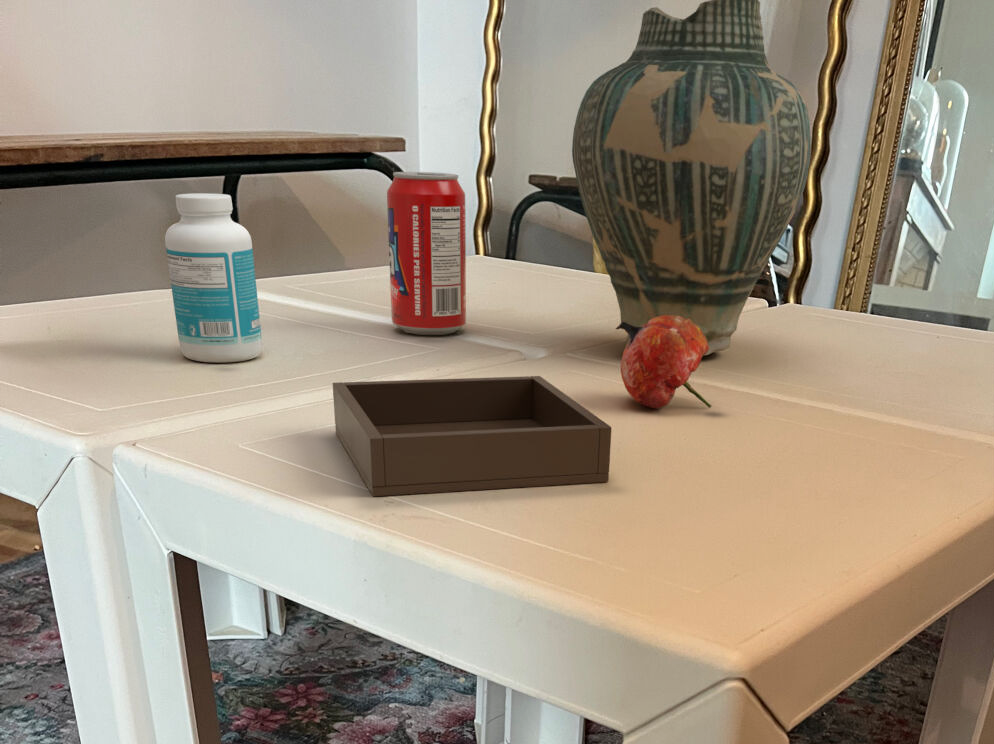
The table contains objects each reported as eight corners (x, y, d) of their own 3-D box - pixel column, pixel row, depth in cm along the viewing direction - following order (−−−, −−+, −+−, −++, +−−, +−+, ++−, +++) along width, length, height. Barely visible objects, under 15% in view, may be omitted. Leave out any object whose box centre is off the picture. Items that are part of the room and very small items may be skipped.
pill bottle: (237, 345, 109) (220, 190, 102) (278, 358, 104) (264, 197, 98) (165, 354, 104) (143, 192, 97) (205, 368, 100) (185, 199, 93)
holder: (372, 496, 69) (369, 438, 68) (335, 432, 82) (332, 382, 80) (608, 482, 74) (611, 427, 72) (538, 423, 87) (540, 375, 85)
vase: (827, 371, 108) (882, -2, 93) (614, 380, 101) (637, -21, 86) (722, 330, 126) (754, 12, 111) (535, 336, 119) (542, -3, 104)
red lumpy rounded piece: (691, 422, 98) (606, 342, 96) (749, 360, 93) (661, 275, 92) (673, 452, 92) (581, 368, 90) (733, 387, 88) (638, 298, 86)
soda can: (446, 340, 115) (444, 176, 108) (378, 332, 117) (371, 172, 110) (477, 328, 122) (477, 173, 114) (412, 321, 124) (408, 169, 116)
